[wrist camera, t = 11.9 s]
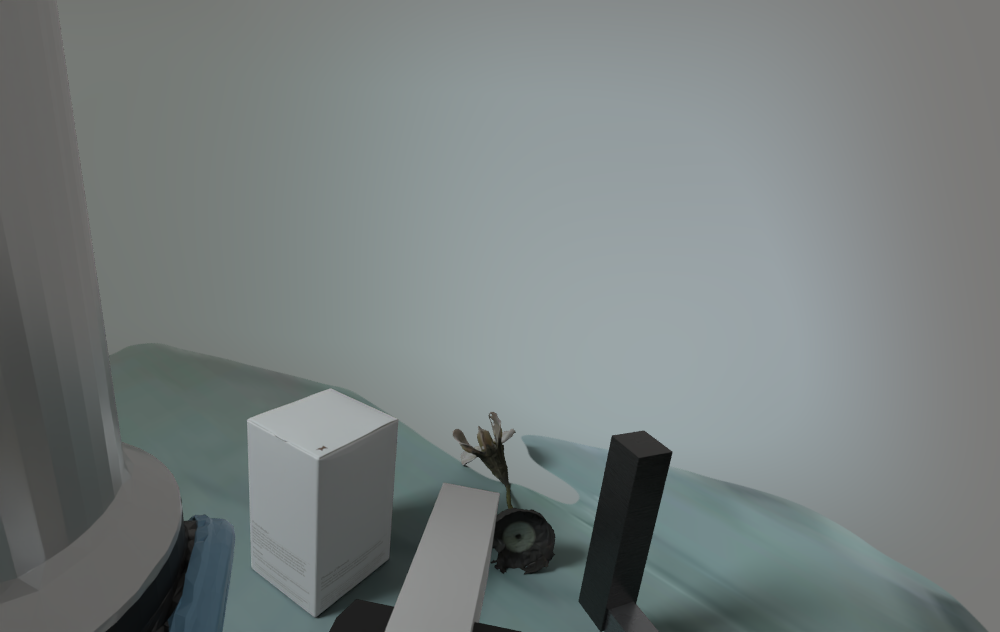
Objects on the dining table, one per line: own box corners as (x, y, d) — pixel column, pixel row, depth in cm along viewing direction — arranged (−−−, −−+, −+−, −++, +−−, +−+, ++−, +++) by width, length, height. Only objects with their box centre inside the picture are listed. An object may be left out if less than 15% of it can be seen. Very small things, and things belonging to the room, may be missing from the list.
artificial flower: (469, 590, 49) (449, 494, 47) (464, 475, 71) (450, 406, 69) (561, 570, 50) (545, 475, 48) (528, 462, 72) (516, 394, 70)
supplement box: (393, 559, 50) (403, 418, 46) (314, 621, 42) (318, 460, 38) (328, 517, 54) (332, 385, 50) (247, 567, 47) (243, 417, 43)
